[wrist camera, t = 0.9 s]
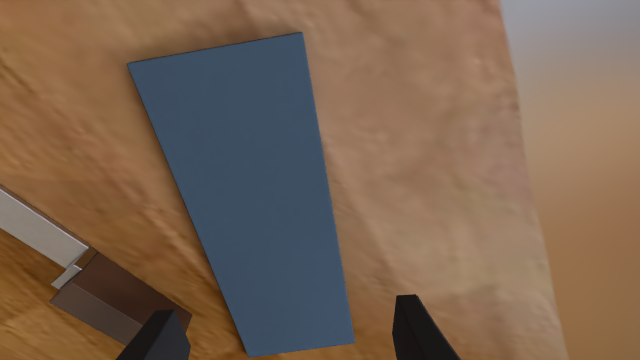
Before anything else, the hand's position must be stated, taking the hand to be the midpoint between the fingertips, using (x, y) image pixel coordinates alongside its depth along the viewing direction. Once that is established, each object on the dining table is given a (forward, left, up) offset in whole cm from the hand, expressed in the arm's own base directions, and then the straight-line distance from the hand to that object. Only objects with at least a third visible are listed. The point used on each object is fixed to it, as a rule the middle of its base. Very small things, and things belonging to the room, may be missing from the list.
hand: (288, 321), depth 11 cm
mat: (-3, -3, -10) cm, 11 cm away
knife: (-15, -2, -10) cm, 18 cm away
